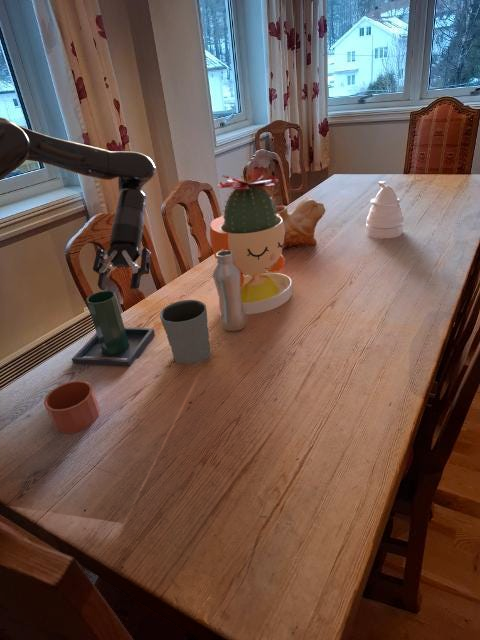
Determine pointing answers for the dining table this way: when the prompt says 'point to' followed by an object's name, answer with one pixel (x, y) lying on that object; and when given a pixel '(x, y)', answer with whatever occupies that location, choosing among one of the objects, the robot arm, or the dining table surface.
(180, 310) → the grey cup
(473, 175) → the dining table surface
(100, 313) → the tall cup
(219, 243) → the potted cactus
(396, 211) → the honey pot
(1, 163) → the robot arm
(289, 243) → the tan lumpy piece
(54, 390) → the short cup
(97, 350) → the tray
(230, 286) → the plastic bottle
